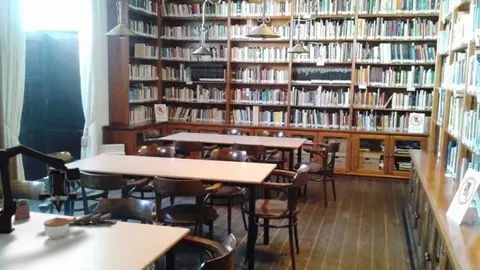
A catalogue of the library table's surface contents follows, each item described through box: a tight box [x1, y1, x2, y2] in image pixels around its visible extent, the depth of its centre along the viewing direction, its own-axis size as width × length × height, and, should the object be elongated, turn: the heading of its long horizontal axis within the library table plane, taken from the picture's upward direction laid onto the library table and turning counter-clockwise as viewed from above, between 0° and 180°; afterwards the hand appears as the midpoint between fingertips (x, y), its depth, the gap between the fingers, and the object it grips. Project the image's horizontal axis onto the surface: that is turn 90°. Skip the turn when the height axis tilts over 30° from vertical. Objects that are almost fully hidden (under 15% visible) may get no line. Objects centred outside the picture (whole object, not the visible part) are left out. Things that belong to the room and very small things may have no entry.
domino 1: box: [65, 215, 77, 224], centre depth 229 cm, size 5×2×9 cm
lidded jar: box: [43, 217, 70, 240], centre depth 208 cm, size 11×11×9 cm
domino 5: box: [95, 219, 117, 226], centre depth 231 cm, size 5×2×9 cm
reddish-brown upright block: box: [13, 199, 31, 221], centre depth 238 cm, size 8×3×10 cm, turn 141°
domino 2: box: [72, 213, 94, 226], centre depth 229 cm, size 5×2×9 cm
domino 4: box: [91, 212, 112, 225], centre depth 230 cm, size 5×2×9 cm
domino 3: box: [80, 212, 102, 226], centre depth 230 cm, size 5×2×9 cm
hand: (59, 212), depth 228 cm, fingers closed
